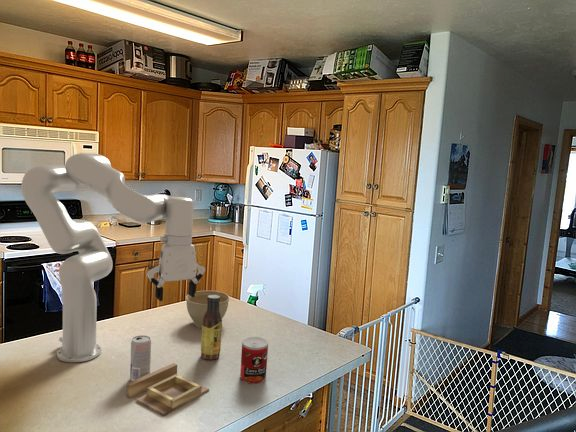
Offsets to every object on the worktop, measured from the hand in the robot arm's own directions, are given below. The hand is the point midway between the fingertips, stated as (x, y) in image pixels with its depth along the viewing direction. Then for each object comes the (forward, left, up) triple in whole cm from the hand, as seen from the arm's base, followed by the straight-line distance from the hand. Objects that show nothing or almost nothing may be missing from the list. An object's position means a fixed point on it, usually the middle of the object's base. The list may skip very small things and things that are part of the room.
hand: (175, 297), depth 132 cm
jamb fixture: (+9, -10, -22) cm, 26 cm away
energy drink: (-3, -10, -23) cm, 25 cm away
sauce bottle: (+2, +14, -23) cm, 27 cm away
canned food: (+21, +12, -23) cm, 33 cm away
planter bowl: (-18, +33, -23) cm, 44 cm away
